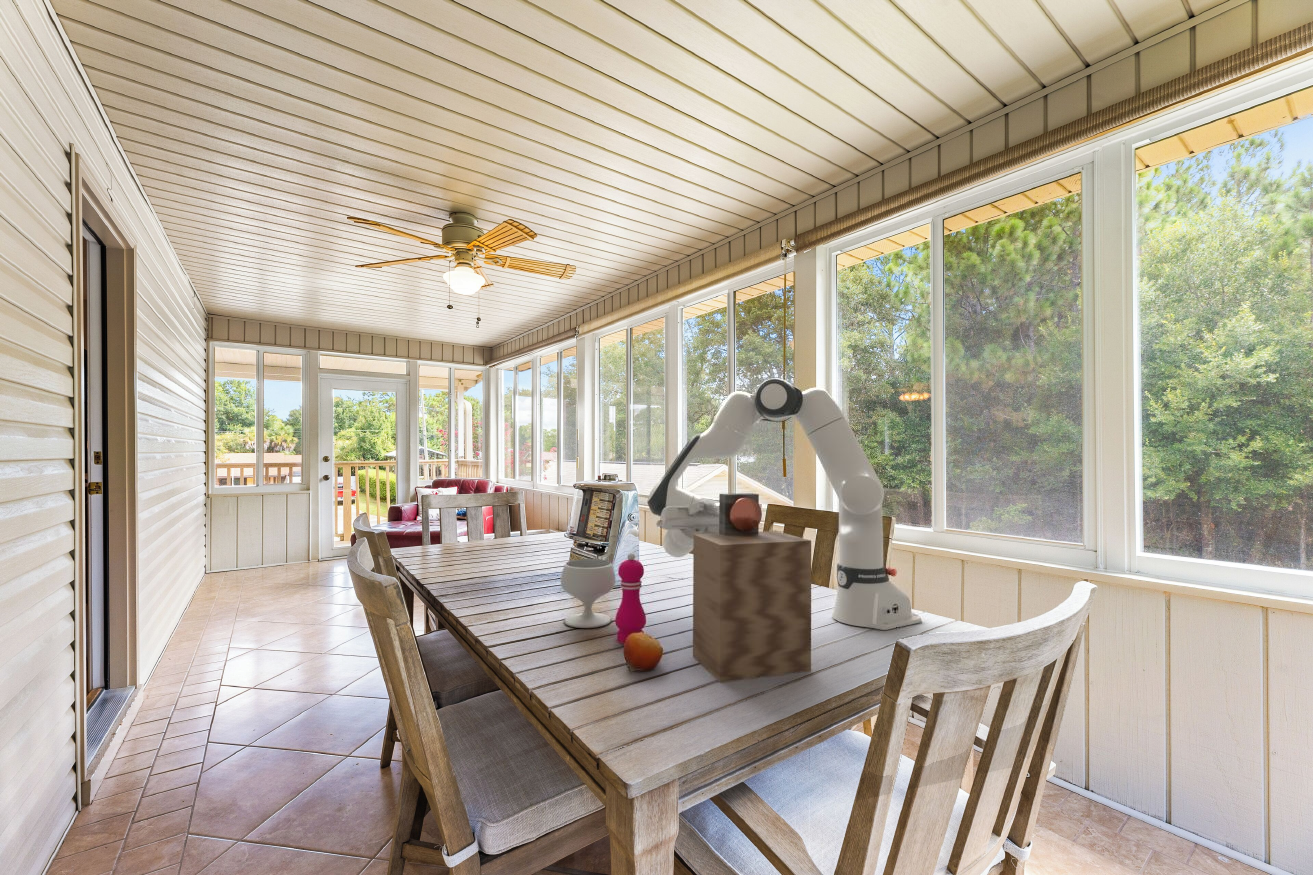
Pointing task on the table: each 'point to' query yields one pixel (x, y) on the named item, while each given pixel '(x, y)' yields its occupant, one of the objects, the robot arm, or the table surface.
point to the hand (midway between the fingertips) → (709, 503)
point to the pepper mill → (630, 599)
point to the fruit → (642, 652)
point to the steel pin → (738, 512)
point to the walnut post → (751, 600)
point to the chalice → (588, 589)
